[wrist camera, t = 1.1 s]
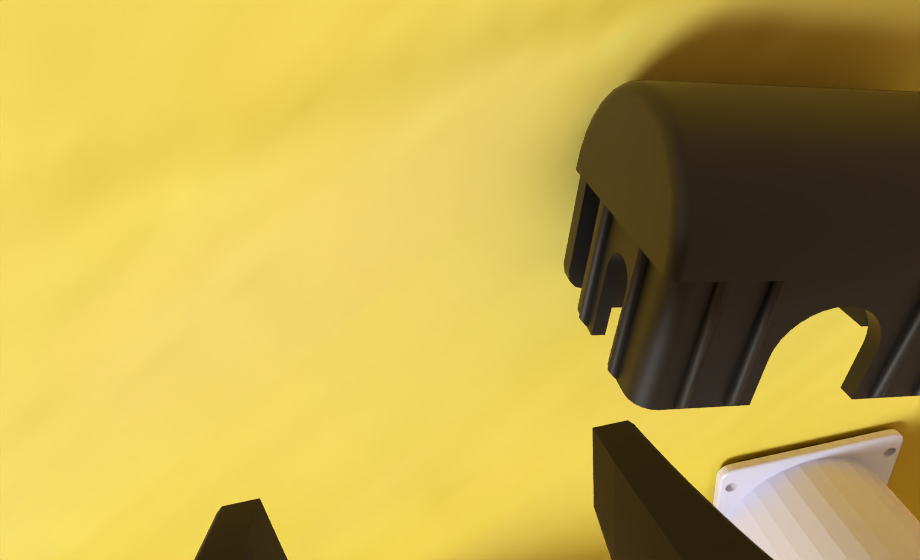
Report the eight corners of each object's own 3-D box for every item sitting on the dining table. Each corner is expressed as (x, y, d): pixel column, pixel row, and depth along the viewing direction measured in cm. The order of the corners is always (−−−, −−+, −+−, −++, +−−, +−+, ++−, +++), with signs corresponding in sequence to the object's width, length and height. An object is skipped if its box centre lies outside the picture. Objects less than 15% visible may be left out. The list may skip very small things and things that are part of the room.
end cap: (915, 63, 19) (1169, 144, 13) (823, 273, 22) (989, 409, 17) (585, 45, 17) (712, 132, 11) (545, 278, 20) (625, 431, 15)
